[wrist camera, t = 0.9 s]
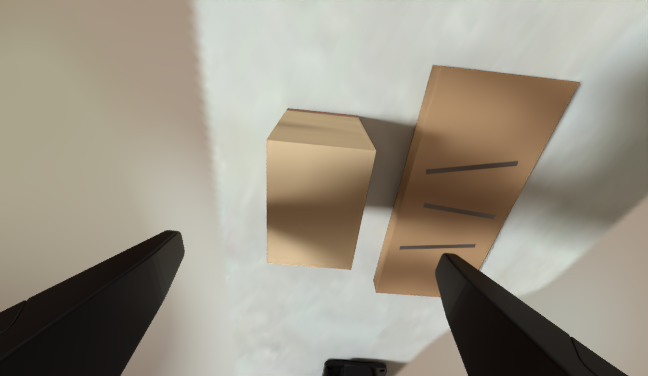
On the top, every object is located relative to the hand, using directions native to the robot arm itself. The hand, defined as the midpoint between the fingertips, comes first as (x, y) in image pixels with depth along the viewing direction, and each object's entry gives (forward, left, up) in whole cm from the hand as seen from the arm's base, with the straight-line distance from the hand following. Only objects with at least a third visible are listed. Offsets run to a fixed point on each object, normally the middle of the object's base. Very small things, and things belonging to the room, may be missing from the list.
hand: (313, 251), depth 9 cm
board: (-2, -9, -8) cm, 12 cm away
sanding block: (0, 0, -8) cm, 8 cm away
